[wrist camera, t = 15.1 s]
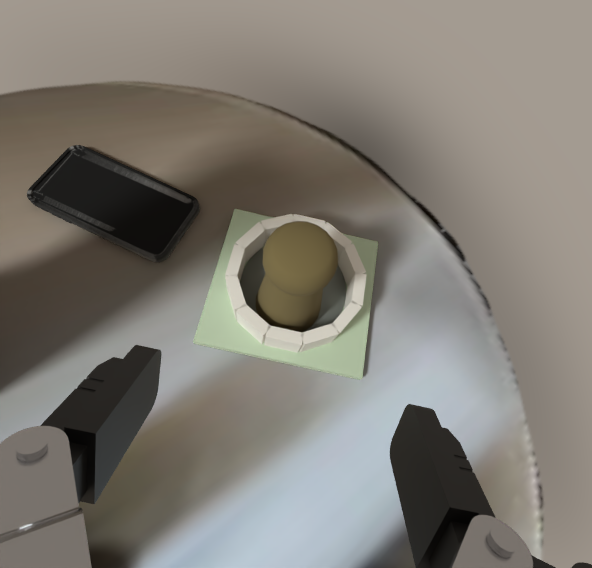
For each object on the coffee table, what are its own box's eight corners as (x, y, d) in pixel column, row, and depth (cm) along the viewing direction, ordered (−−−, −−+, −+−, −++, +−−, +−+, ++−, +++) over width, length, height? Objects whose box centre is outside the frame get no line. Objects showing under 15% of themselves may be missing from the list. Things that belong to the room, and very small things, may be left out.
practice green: (194, 343, 32) (187, 332, 29) (234, 213, 38) (233, 190, 34) (359, 379, 33) (372, 372, 29) (375, 245, 38) (388, 226, 35)
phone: (74, 141, 38) (202, 200, 37) (78, 149, 39) (204, 207, 38) (20, 197, 35) (159, 263, 34) (27, 204, 36) (162, 268, 35)
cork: (288, 260, 35) (303, 191, 25) (334, 304, 34) (368, 249, 24) (241, 300, 33) (236, 242, 23) (287, 348, 32) (303, 309, 22)
